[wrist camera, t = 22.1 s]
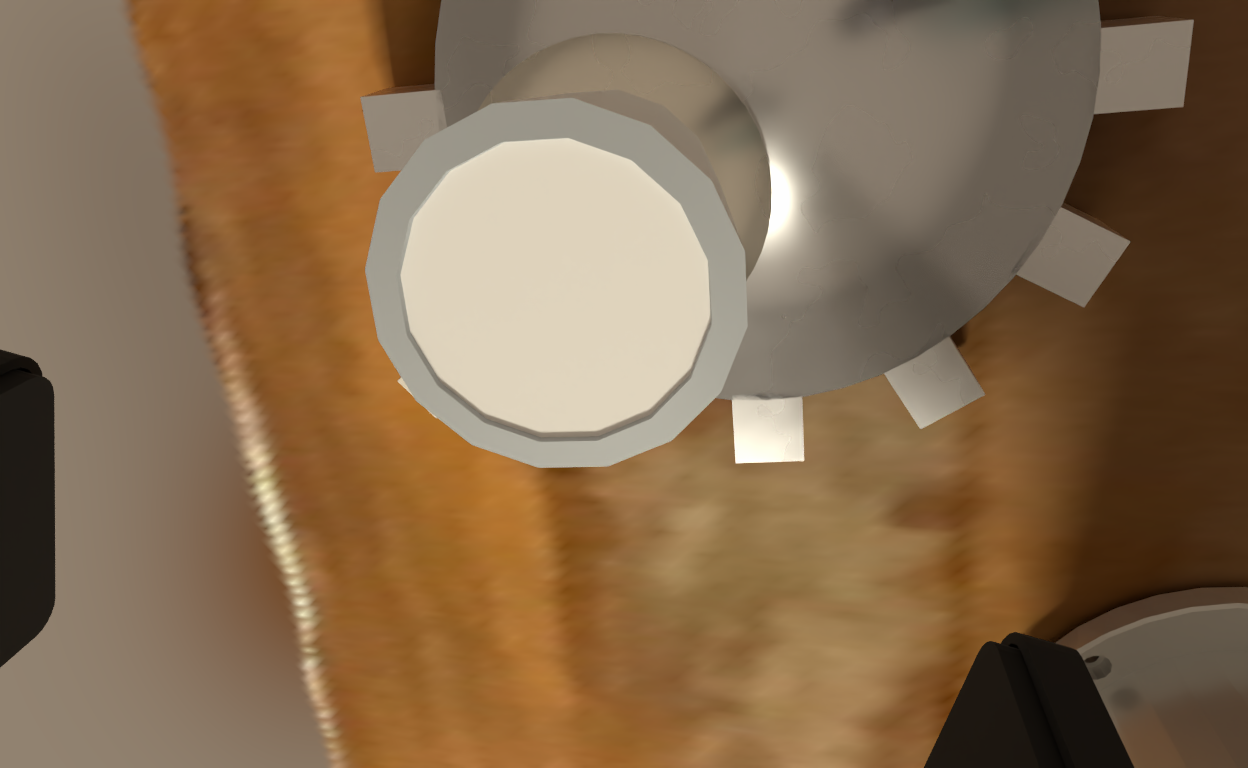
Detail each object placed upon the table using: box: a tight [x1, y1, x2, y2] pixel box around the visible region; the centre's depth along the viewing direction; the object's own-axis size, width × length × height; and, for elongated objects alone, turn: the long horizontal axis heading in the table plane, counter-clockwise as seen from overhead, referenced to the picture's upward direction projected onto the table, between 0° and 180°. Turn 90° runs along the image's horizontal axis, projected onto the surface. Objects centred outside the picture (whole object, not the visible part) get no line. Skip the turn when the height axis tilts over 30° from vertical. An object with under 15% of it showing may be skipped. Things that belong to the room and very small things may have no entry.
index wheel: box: [360, 0, 1194, 463], centre depth 21 cm, size 19×19×6 cm
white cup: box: [365, 89, 748, 468], centre depth 20 cm, size 7×7×7 cm
